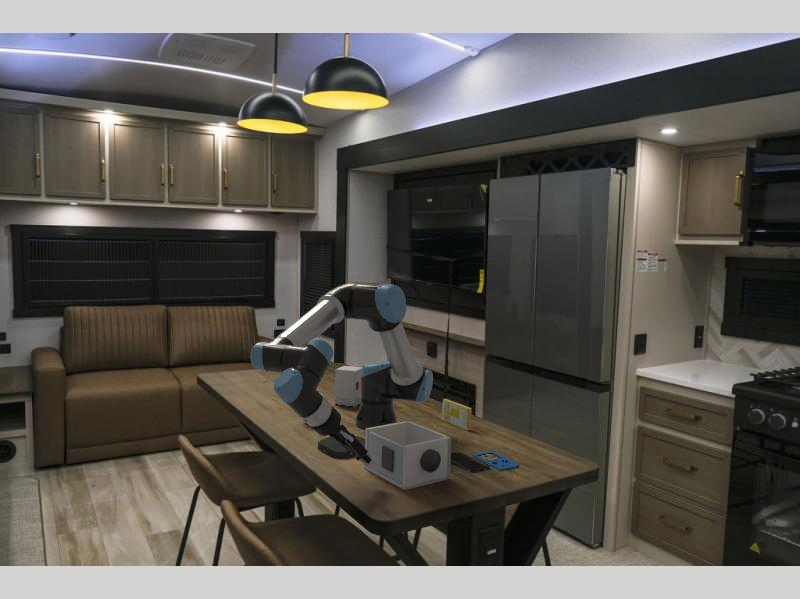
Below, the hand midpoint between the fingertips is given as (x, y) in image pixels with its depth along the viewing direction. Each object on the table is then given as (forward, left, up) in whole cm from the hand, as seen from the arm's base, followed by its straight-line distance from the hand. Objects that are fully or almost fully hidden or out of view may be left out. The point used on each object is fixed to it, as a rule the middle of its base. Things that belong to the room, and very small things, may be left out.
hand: (373, 466), depth 174 cm
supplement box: (-81, -34, -5) cm, 88 cm away
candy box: (-65, +13, -5) cm, 67 cm away
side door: (-5, +2, -4) cm, 7 cm away
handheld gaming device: (-30, +31, -6) cm, 43 cm away
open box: (-11, +7, -5) cm, 14 cm away
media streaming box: (-26, -17, -6) cm, 32 cm away
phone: (-25, +22, -6) cm, 34 cm away
